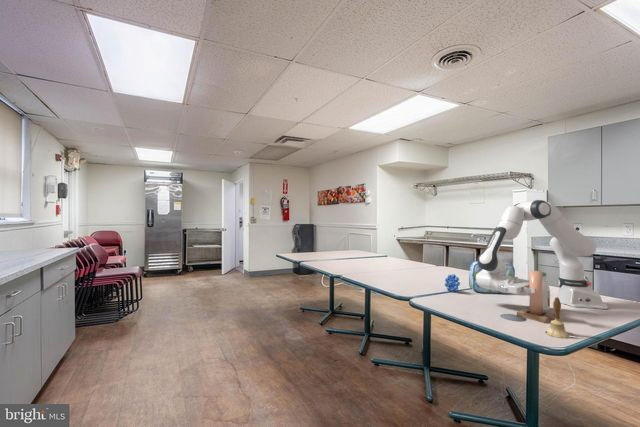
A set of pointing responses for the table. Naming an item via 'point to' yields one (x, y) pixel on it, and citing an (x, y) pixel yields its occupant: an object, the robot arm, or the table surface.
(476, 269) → the lunch box
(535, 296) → the tall peach cylinder
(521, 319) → the disc
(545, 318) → the pocket block
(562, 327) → the hand bell
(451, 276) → the grapes
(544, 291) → the milk bottle
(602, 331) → the table surface
